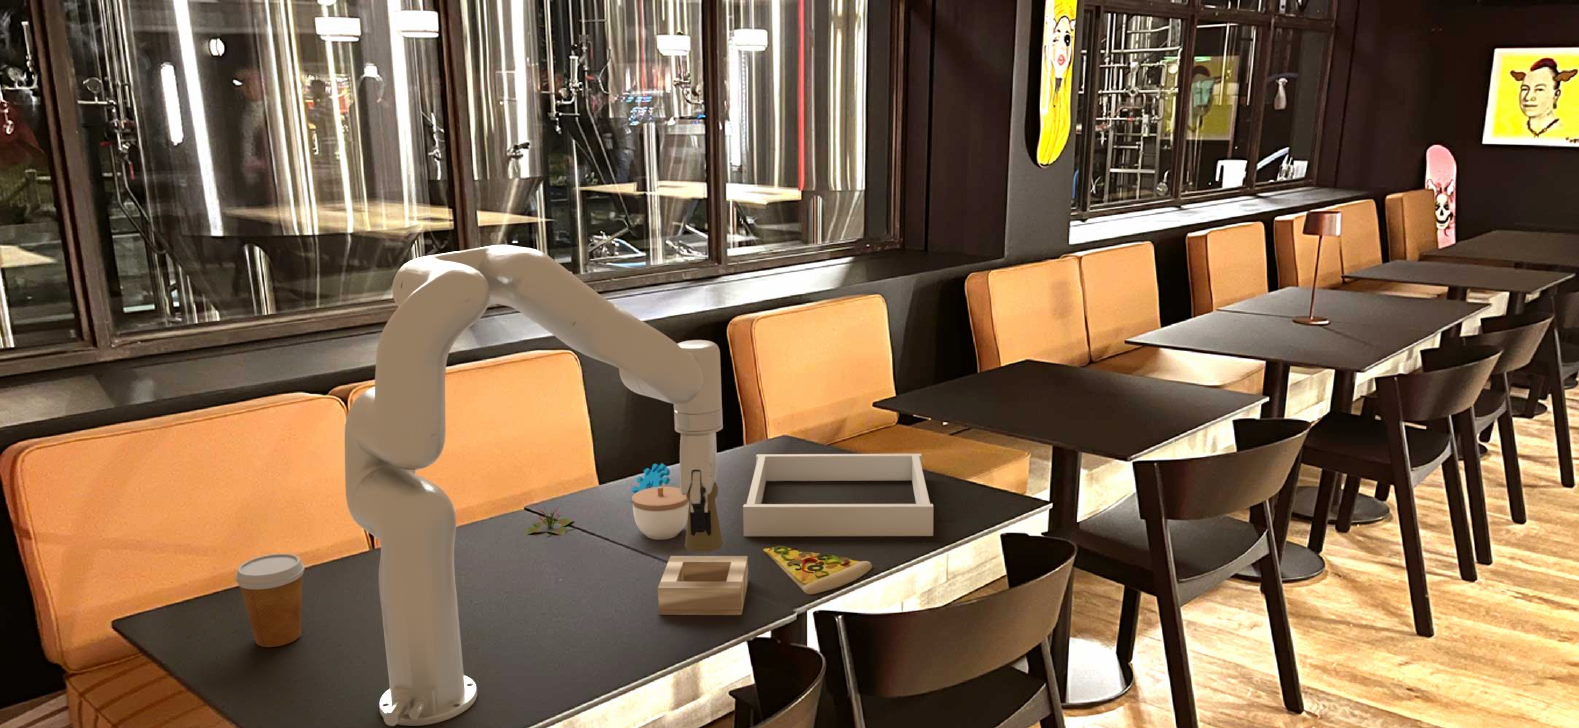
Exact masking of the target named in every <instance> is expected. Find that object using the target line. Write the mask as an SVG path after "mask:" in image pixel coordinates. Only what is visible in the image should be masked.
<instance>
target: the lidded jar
mask: <svg viewBox="0 0 1579 728" xmlns="http://www.w3.org/2000/svg"><path fill="white" fill-rule="evenodd" d="M631 497H632V500H631V504H632V513H633V519H634V521H635V524H636V526H637V528H638V529H639V530H640V532H641V533H643V534H644V535H645V536H646V537H647V538H649V539H652V540H658V541H659V540H668V539H672V538H674V537H677V536H678V535H679V534H680V533H681V532H682V531H683V530H684V528H686V527H685V526H687V519H688V508H689V500H688V499H687V497H686V494H685V495H682V494H681V493H680V487H674V486H662V487H653V488H648V489H644V490H641V491H639V492H637V493H633V496H632V495H631Z"/></svg>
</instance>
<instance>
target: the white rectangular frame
mask: <svg viewBox="0 0 1579 728" xmlns="http://www.w3.org/2000/svg"><path fill="white" fill-rule="evenodd" d="M755 455H756V456H755V468H754V473H753V477H752V481H751V484H750V488H749V492H748V495H747V501H746V503H744V504H743V506H742V517H743V519H742V520H743V537H933V536H934V504H933V503H931V501H930V497H929V493H928V489H927V484H926V480H925V476H924V471H923V467H922V454H921V453H815V454H814V453H798V454H797V453H793V454H792V453H787V454H785V453H783V454H782V453H781V454H777V453H775V454H769V453H767V454H766V453H765V454H761V453H760V454H759V453H758V454H755ZM785 481H787V482H789V481H791V482H794V481H795V482H800V481H801V482H808V481H810V482H816V481H817V482H818V481H819V482H820V481H821V482H822V481H823V482H826V481H827V482H829V481H834V482H835V481H837V482H838V481H843V482H844V481H845V482H846V481H847V482H849V481H854V482H855V481H862V482H863V481H864V482H865V481H911V483H912V487H913V494H914V499H915V503H774V504H773V503H762V502H763V498H764V492H765V487H766V483H767V482H785Z"/></svg>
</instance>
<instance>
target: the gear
mask: <svg viewBox="0 0 1579 728" xmlns="http://www.w3.org/2000/svg"><path fill="white" fill-rule="evenodd" d="M643 473H644V478H643V477H642V476H638V477H637V478H636V482H637V483H638V484H639V486H636V485H634V486H633V487H632V489H631V493H633V495H634V494H635V493H637V492H639V491H641V490H644V489H648V488H653V487H663V486H662V484H663V483H664V484H665V485H669V483H670V480H671V478H670V477H668V476H669V475H670V474H671V470H670V469H669V468H668V467H667V465H665V464H664V463H660V464H657V463H653V464H652V466H651V469H650V468H649V467H648V468H644V469H643ZM633 495H631V497H630V498H631V499H630V500H631V501H632V496H633Z"/></svg>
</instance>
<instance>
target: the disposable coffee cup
mask: <svg viewBox="0 0 1579 728" xmlns="http://www.w3.org/2000/svg"><path fill="white" fill-rule="evenodd" d="M305 567H306V566H305V564H304V563H303V562H302V560H301V557H300V556H299V555H298V554H297V555H296V554H294V553H293V554H292V553H270V554H264V555H260V556H258V557H257V556H256V557H254V558H251V559H249V560H246V561H245V562H243V563H242V564H239V566H238V567H237V573H236V575H235V577H234V580H235V582H236V583H237V586H239V587H240V591H241V594H242V599H243V601H244V606H245V609H246V612H247V616H248V619H249V622H250V626H251V630H252V633H253V637H254V641H255V643H256V645H257V646H260V647H262V648H273V647H280V646H281V647H282V646H284V645H288V644H290V643H293V642H294V641H296V640H297V639H299V638H300V637H301V635H302V599H303V598H302V596H303V593H302V592H303V589H302V588H303V575H304V571H305V570H306V569H305Z"/></svg>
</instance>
